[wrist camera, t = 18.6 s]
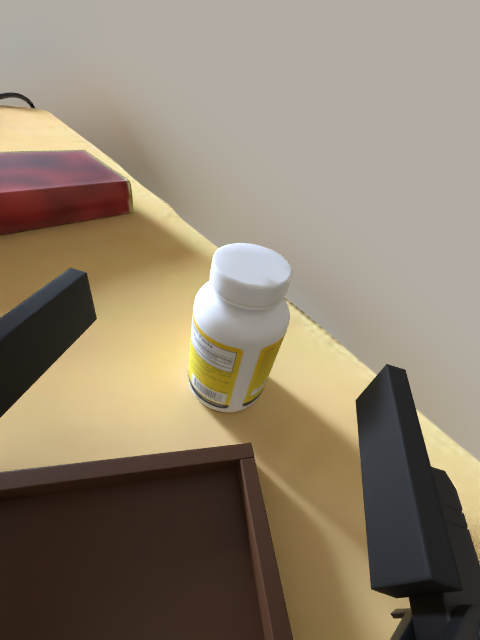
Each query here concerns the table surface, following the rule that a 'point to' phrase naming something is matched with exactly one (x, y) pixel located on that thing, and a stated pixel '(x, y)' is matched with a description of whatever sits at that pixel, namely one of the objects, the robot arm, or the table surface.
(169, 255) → the table surface
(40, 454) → the table surface
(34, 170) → the hardcover book
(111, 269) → the table surface
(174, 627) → the tray
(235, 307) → the supplement bottle
